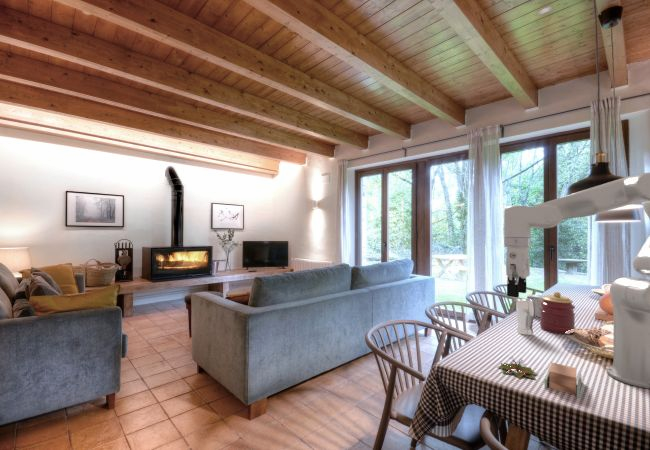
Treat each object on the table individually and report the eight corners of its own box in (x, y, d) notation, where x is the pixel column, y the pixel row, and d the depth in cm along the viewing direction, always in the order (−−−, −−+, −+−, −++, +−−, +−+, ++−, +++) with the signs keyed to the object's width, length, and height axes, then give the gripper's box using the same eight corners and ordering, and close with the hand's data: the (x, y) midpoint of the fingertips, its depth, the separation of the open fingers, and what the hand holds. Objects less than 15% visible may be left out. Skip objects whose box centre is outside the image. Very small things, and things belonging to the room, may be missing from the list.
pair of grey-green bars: (581, 381, 93) (581, 373, 93) (579, 397, 84) (579, 388, 84) (549, 373, 98) (549, 365, 98) (544, 387, 89) (544, 378, 89)
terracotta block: (576, 384, 91) (576, 368, 91) (575, 395, 85) (575, 377, 85) (551, 378, 95) (551, 362, 95) (549, 388, 89) (549, 371, 89)
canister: (570, 337, 132) (571, 296, 132) (536, 329, 142) (536, 291, 142) (578, 331, 140) (578, 292, 141) (544, 324, 150) (544, 288, 151)
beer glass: (538, 334, 134) (538, 300, 134) (527, 336, 132) (527, 302, 132) (522, 329, 141) (523, 297, 141) (512, 331, 138) (512, 298, 138)
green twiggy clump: (543, 385, 91) (543, 369, 91) (497, 376, 97) (497, 361, 97) (536, 369, 102) (536, 355, 102) (495, 361, 107) (495, 348, 107)
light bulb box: (550, 315, 165) (550, 296, 165) (551, 318, 159) (551, 298, 159) (526, 312, 171) (526, 293, 171) (527, 315, 165) (527, 295, 165)
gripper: (523, 244, 92) (523, 300, 92) (536, 242, 105) (536, 292, 104) (496, 243, 98) (496, 296, 98) (511, 242, 110) (511, 289, 110)
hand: (516, 294), depth 101 cm, fingers open, 9 cm apart
